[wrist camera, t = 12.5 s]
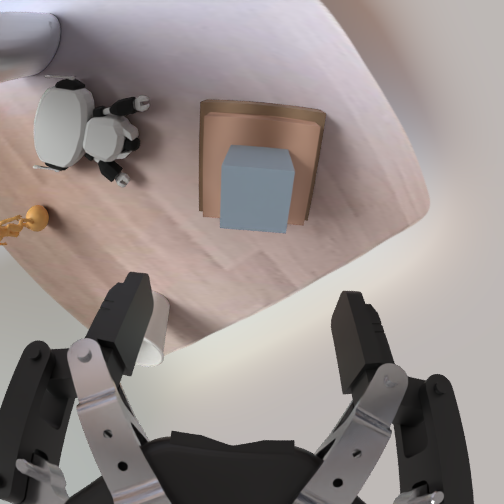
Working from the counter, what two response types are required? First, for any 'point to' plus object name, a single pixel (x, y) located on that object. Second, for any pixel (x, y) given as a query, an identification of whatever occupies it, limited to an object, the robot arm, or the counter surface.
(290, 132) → the wooden stepped block
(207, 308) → the counter surface
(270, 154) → the slate brick
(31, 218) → the figurine
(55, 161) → the robot toy
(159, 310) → the dixie cup
